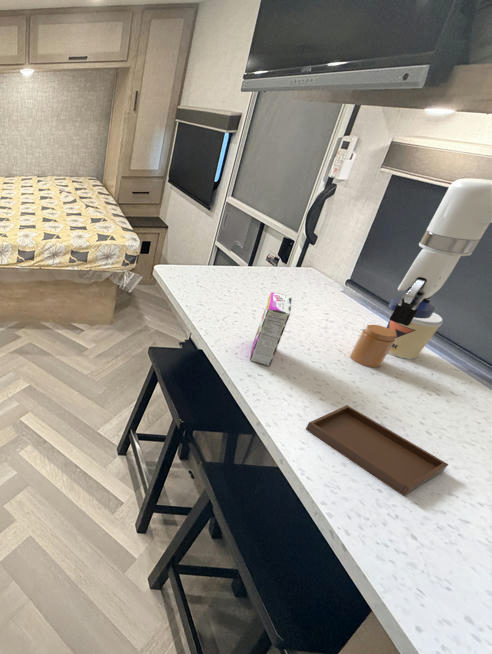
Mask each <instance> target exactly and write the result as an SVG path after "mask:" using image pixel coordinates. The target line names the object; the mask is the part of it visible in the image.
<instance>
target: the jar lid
mask: <svg viewBox="0 0 492 654" xmlns="http://www.w3.org/2000/svg"><path fill="white" fill-rule="evenodd" d="M402 297H403V296H394V297H392V298H391V300H390V301H389V303H388V308H389V309H390V310H391V311H392V312H393V311H394V310H395V308H396V306H397V304H399V302H400V300H401V299H402ZM414 300H416V301H417V300H418V299H414ZM417 310H418V311H417V313H416V314H415V316H414V318H429V317H431V315H432V313H433V312H434V311H435V310H436V309H435V306H434V305H432V304H431V303H430V302H429V303H427V302H424V301H421V303H420V304H419V306H418V307H417ZM434 313H435V312H434Z"/></svg>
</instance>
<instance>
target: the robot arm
mask: <svg viewBox="0 0 492 654" xmlns="http://www.w3.org/2000/svg"><path fill="white" fill-rule="evenodd" d="M437 207H438V208H437V209H436V211H435V213H434V215H433V216H432V219H431V220H430V222H429V224H428V226H427V228H426V230H425V232H424V233H423V235H422V237H421V239H420V241H419V243H418V246H419V247H420V248H422V249H421V250H420V252H419V253H418V255H416V257H415V259H414V260H413V262H412V264H411V265H410V267H409V269H408V271H407V272H406V274H405V275H404V277H403V279H402V281H401V282H400V283H399V285H398V287H397V291H398V292H399V293H401V292H405V293H404V294H403V296H401V297H402V299H401V300H400V302H399V304H397V306H396V308H395V310H394V312H393V311H392V313H391V315H390V317H389V321H390V320H391V321H394V322H397V323H399V324H402V325H405V326H408V325H410V323H411V321H412V319H413V318H414V316H415V314H416V313H417V311H418V310H417V307H418V306H419V304H420V303H421V301H424V302H427V303H429V304H430V303H431V299H432V297H433V296H434V294H436V293H437V292H438V291H439V290H441V288H442V287H443V285H444V284H445V283H446V281H447V280H448V278H449V277H450V276H451V274H452V272H453V271H454V269H455V268H456V265H457V264H458V263H459V260H460V259H461V257H469V256H471V255H472V254H473V252H474V250H475V249H476V247H477V246H478V244H479V242H480V241H481V239H482V237H483V235H484V234H485V232H486V231H487V229H488V228H489V225H490V224H492V179H488V178H487V179H485V178H471V177H469V178H468V177H467V178H466V177H465V178H459V179H456V180H455V181H453V182H451V184H450V185H449V187H448V189H447V190H446V192H445V194H444V196H443V197H442V200H441V202H440V204H439V205H438V206H437ZM414 299H418V300H417V301H416V300H414Z"/></svg>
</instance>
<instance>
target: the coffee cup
mask: <svg viewBox="0 0 492 654" xmlns="http://www.w3.org/2000/svg"><path fill="white" fill-rule="evenodd" d="M393 312H394V311H393V310H392V313H393ZM442 325H443V318H442V317H441V315H439V314H437V313H436V312H433V313H432V315H431V317H429V318H413V319H412V321H411V323H410V325H408V326H405V325H402V324H399V323H397V322H394V321H391V320H390V319H389V321H388V323H387V325H386V326H385V327H386V328H388V329H391V330H392V331H394V332H395V333H396V337H395V342H394V343H393V345H392V347H391V349H390V350H389V352H388V355H392V356H394V357H396V358H401V359H406V360H407V359H408V360H413V359H416V358H417V357H418V356H419V354H420V353H421V352H422V351H423V349H424V348H425V347H426V345H427V344H428V343H429V341H430V340H431V339H432V338H433V336H434V335H435V333H437V331H438V329H439V328H440V327H441V326H442Z"/></svg>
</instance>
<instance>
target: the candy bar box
mask: <svg viewBox="0 0 492 654" xmlns="http://www.w3.org/2000/svg"><path fill="white" fill-rule="evenodd" d="M292 298H293V297H292V296H291V295H287V294H283V293H278V292H273V291H271V292H270V294H269V296H268V299H267V302H266V305H265V307H264V310H263V313H262V316H261V319H260V322H259V324H258V328H257V330H256V333H255V336H254V339H253V343H252V348H251V352H250V359H249V361H250V362H253V363H257V364H260V365H264V366H267V367H270V366H271V364H272V362H273V359H274V357H275V354H276V352H277V349H278V346H279V345H280V342H281V339H282V336H283V333H284V332H285V329H286V326H287V323H288V321H289V318H290V316H291V312H292Z"/></svg>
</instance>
